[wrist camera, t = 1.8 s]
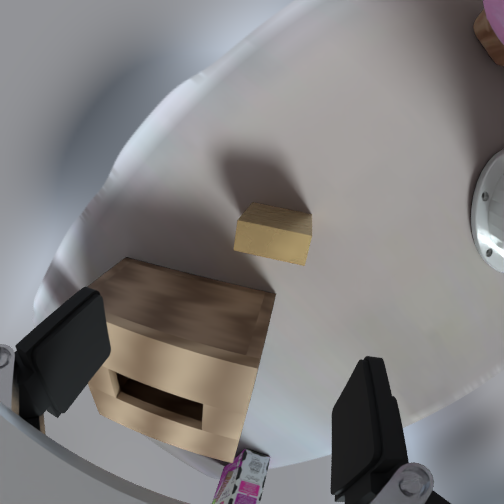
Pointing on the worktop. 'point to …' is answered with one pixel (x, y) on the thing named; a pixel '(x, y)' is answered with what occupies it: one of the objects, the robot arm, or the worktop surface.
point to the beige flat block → (274, 233)
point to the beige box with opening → (180, 355)
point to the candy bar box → (243, 479)
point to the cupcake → (491, 29)
